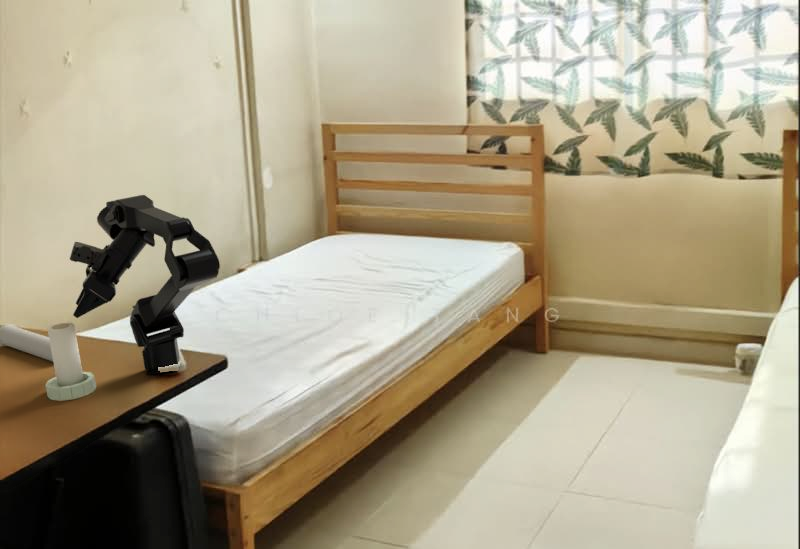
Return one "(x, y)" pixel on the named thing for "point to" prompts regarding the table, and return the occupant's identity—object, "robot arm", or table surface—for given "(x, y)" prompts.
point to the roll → (65, 354)
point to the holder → (71, 388)
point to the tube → (26, 341)
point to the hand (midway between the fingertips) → (76, 310)
